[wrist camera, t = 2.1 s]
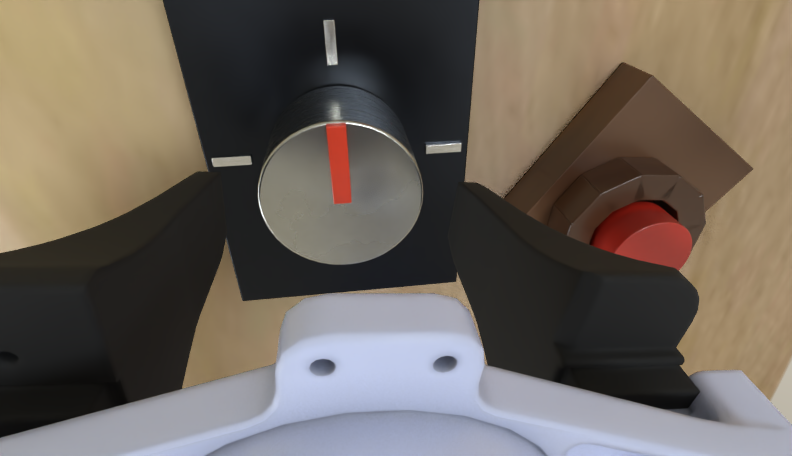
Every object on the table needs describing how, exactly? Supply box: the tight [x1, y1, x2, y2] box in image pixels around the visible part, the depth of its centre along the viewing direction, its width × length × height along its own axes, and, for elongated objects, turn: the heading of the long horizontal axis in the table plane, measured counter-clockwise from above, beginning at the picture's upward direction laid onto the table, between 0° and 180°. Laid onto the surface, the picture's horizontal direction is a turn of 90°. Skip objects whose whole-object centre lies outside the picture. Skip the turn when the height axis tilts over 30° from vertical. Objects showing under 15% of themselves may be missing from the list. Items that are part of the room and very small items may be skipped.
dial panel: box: [163, 0, 479, 301], centre depth 18 cm, size 14×10×3 cm
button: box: [590, 202, 692, 271], centre depth 20 cm, size 4×4×2 cm
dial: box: [258, 86, 423, 265], centre depth 16 cm, size 5×5×4 cm
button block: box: [504, 63, 753, 251], centre depth 22 cm, size 11×8×4 cm
